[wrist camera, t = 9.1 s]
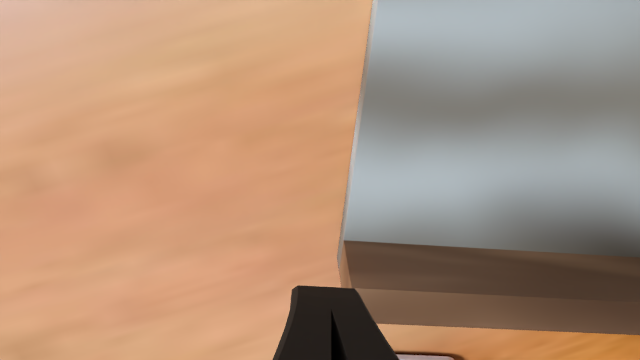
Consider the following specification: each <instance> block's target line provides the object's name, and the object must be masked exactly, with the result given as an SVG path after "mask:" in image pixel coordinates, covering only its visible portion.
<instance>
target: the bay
mask: <svg viewBox="0 0 640 360" xmlns="http://www.w3.org/2000/svg"><path fill="white" fill-rule="evenodd" d="M337 260H338V268H339V275H340V282H341V288H355V290H356V291H357V292H358V293H359V295H360V297H361V298H362V300H363V302H364V304H365V306H366V308H367V309H368V311H369V313H370V315H371V316H372V318H373V320H374V321H375V323H377V324H400V325H423V326H446V327H468V328H491V329H514V330H537V331H559V332H582V333H605V334H628V335H640V0H373V4H372V11H371V18H370V25H369V32H368V39H367V47H366V54H365V61H364V68H363V75H362V82H361V90H360V97H359V104H358V111H357V118H356V125H355V133H354V140H353V147H352V154H351V161H350V168H349V176H348V183H347V190H346V197H345V204H344V211H343V219H342V226H341V233H340V240H339V247H338V254H337Z"/></svg>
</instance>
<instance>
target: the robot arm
mask: <svg viewBox="0 0 640 360" xmlns="http://www.w3.org/2000/svg"><path fill="white" fill-rule="evenodd" d="M273 360H454V359H453V358H452V357H448V356H424V355H398V354H395V352H394V351H393V349H392V348H391V346H390V345H389V344H388V342H387V340H386V339H385V337H384V336H383V334H382V333H381V331H380V329H379V328H378V326H377V325H376V323H375V321H374V320H373V318H372V316H371V315H370V313H369V311H368V309H367V308H366V306H365V304H364V302H363V300H362V298H361V297H360V295H359V293H358V292H357V291H356V290H355V288H336V287H316V286H297V287H295V288H294V289H292V295H291V305H290V312H289V316H288V319H287V323H286V326H285V329H284V332H283V334H282V337H281V340H280V342H279V345H278V348H277V350H276V353H275V355H274V358H273Z"/></svg>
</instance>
